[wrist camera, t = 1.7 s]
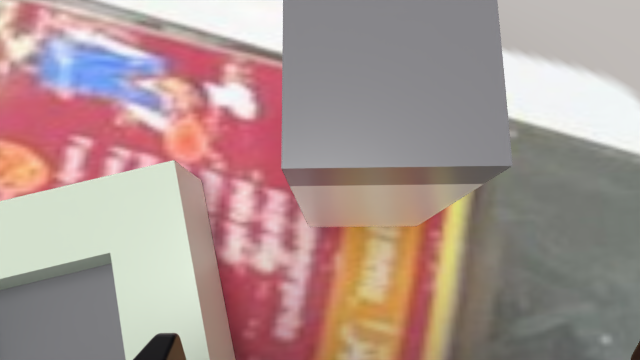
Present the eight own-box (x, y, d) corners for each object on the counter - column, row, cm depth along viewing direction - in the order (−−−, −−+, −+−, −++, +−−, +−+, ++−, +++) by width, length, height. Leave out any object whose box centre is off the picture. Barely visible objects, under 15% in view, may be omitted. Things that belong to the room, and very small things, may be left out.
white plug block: (416, 226, 22) (512, 165, 10) (309, 227, 22) (281, 168, 10) (411, 123, 23) (493, -39, 11) (308, 124, 23) (283, -35, 11)
